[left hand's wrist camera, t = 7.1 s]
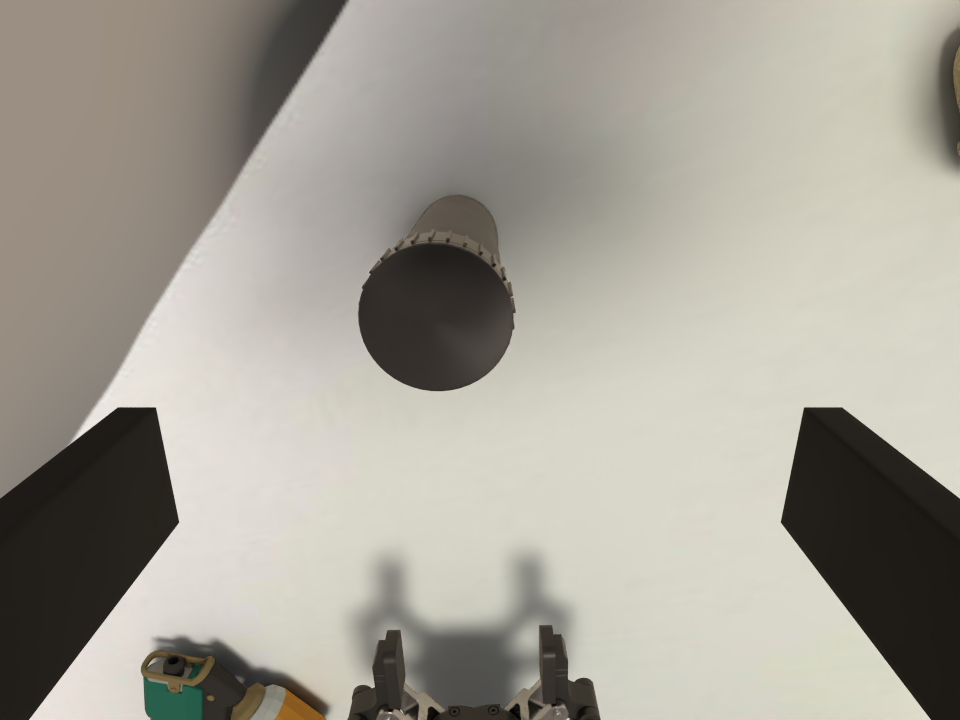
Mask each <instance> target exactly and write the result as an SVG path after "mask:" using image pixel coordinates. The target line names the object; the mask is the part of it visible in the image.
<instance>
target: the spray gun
mask: <svg viewBox="0 0 960 720" xmlns="http://www.w3.org/2000/svg"><path fill="white" fill-rule="evenodd" d="M156 657H163V658H167V659H166V660H165V661H164V662H163V661H159V662H156V663H153V664H151V665H150V666H148V665H149V663H150V662H151V661H152V660H153V659H154V658H156ZM214 662H215V659H214V658H213V657H211V656H208V657H206V658H205V659H202V658H197V657H192V656H187V655H182V654H176V653H171V652H166V651H154V652H152V653H150V654H149V655H148V656H147V658H146V659H145V660H144V662H143V663H142V666H141V673H142V675H143V678H144V700H145V711H146V714H147V715H148V717H150V719H151V720H326V718H325V717H324V716H322V715H321V714H320V713H318V712H317V711H316V710H314V709H313V708H311V707H310V706H309V705H307V704H306V703H305V702H303V701H302V700H300V699H299V698H298V697H296V696H295V695H294V694H292V693H291V692H289V691H288V690H287V689H285V688H283V687H280V686H277V685H274V684H273V685H269V686H266V687H264V686H263V685H261V684H260V683H256V684H254V685H252V686H251V687H249V688H247V689H246V688H245V687H244V686H243V685H242V684H241V683H240V682H239V681H238V680H237V679H235V678H234V677H233V676H232V675H231V674H229V673H228V672H227V671H226V670H225V669H224V668H222V667H221V666H220V665H219V664H218V663H217V662H216V663H214ZM192 663H195V664H196V665H195V666H194V667H193V668H192ZM197 664H200V665H204V666H203V667H202V668H201V666H200V665H197ZM147 666H148V667H147ZM232 706H233V711H232V714H231V707H232Z"/></svg>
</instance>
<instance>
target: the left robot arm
mask: <svg viewBox="0 0 960 720" xmlns="http://www.w3.org/2000/svg"><path fill="white" fill-rule="evenodd" d="M178 523H179V519H178V514H177V509H176V504H175V499H174V495H173V490H172V485H171V480H170V475H169V470H168V465H167V460H166V455H165V450H164V445H163V440H162V435H161V431H160V426H159V421H158V416H157V411H156V408H117V409H115V410H114V411H113V412H112V413H110V414H109V415H108V416H106V417H105V418H104V419H103V420H101V421H100V422H99V423H97V424H96V425H95V426H93V427H92V428H91V429H90V430H88V431H87V432H86V433H84V434H83V435H82V436H81V437H79V438H78V439H77V440H75V441H74V442H73V443H72V444H70V445H69V446H68V447H66V448H65V449H64V450H62V451H61V452H60V453H59V454H57V455H56V456H55V457H53V458H52V459H51V460H50V461H48V462H47V463H46V464H44V465H43V466H42V467H41V468H39V469H38V470H37V471H35V472H34V473H33V474H31V475H30V476H29V477H28V478H26V479H25V480H24V481H22V482H21V483H20V484H19V485H17V486H16V487H15V488H13V489H12V490H11V491H10V492H8V493H7V494H6V495H4V496H3V497H2V498H0V720H29V719H30V718H31V716H32V715H33V714H34V712H35V711H36V710H37V708H38V707H39V706H40V704H41V703H42V702H43V701H44V699H45V698H46V697H47V695H48V694H49V693H50V691H51V690H52V689H53V687H54V686H55V685H56V683H57V682H58V681H59V680H60V678H61V677H62V676H63V674H64V673H65V672H66V670H67V669H68V668H69V666H70V665H71V664H72V662H73V661H74V660H75V659H76V657H77V656H78V655H79V653H80V652H81V651H82V649H83V648H84V647H85V645H86V644H87V643H88V641H89V640H90V639H91V638H92V636H93V635H94V634H95V632H96V631H97V630H98V628H99V627H100V626H101V624H102V623H103V622H104V620H105V619H106V618H107V617H108V615H109V614H110V613H111V611H112V610H113V609H114V607H115V606H116V605H117V603H118V602H119V601H120V599H121V598H122V597H123V595H124V594H125V593H126V592H127V590H128V589H129V588H130V586H131V585H132V584H133V582H134V581H135V580H136V578H137V577H138V576H139V574H140V573H141V572H142V571H143V569H144V568H145V567H146V565H147V564H148V563H149V561H150V560H151V559H152V557H153V556H154V555H155V553H156V552H157V551H158V550H159V548H160V547H161V546H162V544H163V543H164V542H165V540H166V539H167V538H168V536H169V535H170V534H171V532H172V531H173V530H174V529H175V527H176V526H177V525H178ZM781 523H782V525H783V526H784V527H785V529H786V530H787V531H788V532H789V534H790V535H791V536H792V538H793V539H794V540H795V542H796V543H797V544H798V546H799V547H800V548H801V550H802V551H803V552H804V553H805V555H806V556H807V557H808V559H809V560H810V561H811V563H812V564H813V565H814V567H815V568H816V569H817V571H818V572H819V573H820V574H821V576H822V577H823V578H824V580H825V581H826V582H827V584H828V585H829V586H830V588H831V589H832V590H833V592H834V593H835V594H836V595H837V597H838V598H839V599H840V601H841V602H842V603H843V605H844V606H845V607H846V609H847V610H848V611H849V613H850V614H851V615H852V617H853V618H854V619H855V620H856V622H857V623H858V624H859V626H860V627H861V628H862V630H863V631H864V632H865V634H866V635H867V636H868V638H869V639H870V640H871V641H872V643H873V644H874V645H875V647H876V648H877V649H878V651H879V652H880V653H881V655H882V656H883V657H884V659H885V660H886V661H887V662H888V664H889V665H890V666H891V668H892V669H893V670H894V672H895V673H896V674H897V676H898V677H899V678H900V680H901V681H902V682H903V683H904V685H905V686H906V687H907V689H908V690H909V691H910V693H911V694H912V695H913V697H914V698H915V699H916V701H917V702H918V703H919V705H920V706H921V707H922V708H923V710H924V711H925V712H926V714H927V715H928V716H929V718H930V719H931V720H960V498H958V497H957V496H956V495H954V494H953V493H952V492H950V491H949V490H948V489H947V488H945V487H944V486H943V485H941V484H940V483H939V482H938V481H936V480H935V479H934V478H932V477H931V476H930V475H929V474H927V473H926V472H925V471H923V470H922V469H921V468H919V467H918V466H917V465H916V464H914V463H913V462H912V461H910V460H909V459H908V458H907V457H905V456H904V455H903V454H901V453H900V452H899V451H898V450H896V449H895V448H894V447H892V446H891V445H890V444H888V443H887V442H886V441H885V440H883V439H882V438H881V437H879V436H878V435H877V434H876V433H874V432H873V431H872V430H870V429H869V428H868V427H867V426H865V425H864V424H863V423H861V422H860V421H859V420H857V419H856V418H855V417H854V416H852V415H851V414H850V413H848V412H847V411H846V410H845V409H843V408H804V411H803V416H802V421H801V426H800V431H799V435H798V440H797V445H796V450H795V455H794V460H793V465H792V470H791V475H790V480H789V485H788V490H787V495H786V499H785V504H784V509H783V514H782V519H781Z"/></svg>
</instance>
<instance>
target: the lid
mask: <svg viewBox="0 0 960 720" xmlns="http://www.w3.org/2000/svg"><path fill="white" fill-rule="evenodd" d="M468 237H469V236H468V235H465V236H462V235H458V234H455V233H452V231H451V230H449V232H435V229H434V230H432V231H431V232H428V233H423V234H419V232H417V233H415V234H414V236H413V237H410V238H408V239H406V240H403V239H401V240H400V241H399V242H398V244H397V245H396V246H395V247H394V248H392V249H390V248H389V249H388V250H387V251H386V252H385V253H384V255H383V256H382V257H381V258H380V260H381V262H380V261H378V262H377V263H376V264H375V265H374V267H373V268H372V269H371V271H370V272H369V273H370V274H371V275H370V276H369V278H368V280H367V281H366V282H365V283H364V285H363V287H362V289H363V291H362V294H361V298H360V301H359V311H358V317H359V327H360V332H361V335H362V338H363V341H364V344H365V346H366V348H367V350H368V352H369V353H370V355H371V356H372V358H373V359H374V360H375V362H376V363H377V364H378V365H379V366H380V367H381V368H382V369H383V370H384V371H385V372H386V373H387V374H389V375H390V376H392V377H393V378H394V379H396V380H398V381H400V382H402V383H404V384H406V385H409V386H411V387H414V388H418V389H422V390H429V391H447V390H454V389H458V388H462V387H465V386H467V385H470V384H472V383H474V382H476V381H478V380H479V379H481V378H482V377H484V376H485V375H486V374H488V373H489V372H490V371H491V370H492V369H493V368H494V367H495V366H496V365H497V363H498V362H499V361H500V360H501V358H502V356H503V355H504V353H505V351H506V349H507V347H508V345H509V343H510V339H511V336H512V330H514V320H513V318H514V317H513V313H515V305H514V298H511V296H513V292H512V286H511V282H508V281H507V278H506V271H505V268H504V267H501V266H500V264H499V263H498V261H497V260H496V255H495V254H493V255H492V254H491V253H490V252H489V251H488V250H486V249H485V248H484V247H483V243H480V244H478V243H477V242H475V241H473V240H471V239H469V238H468Z"/></svg>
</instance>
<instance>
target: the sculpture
mask: <svg viewBox="0 0 960 720" xmlns="http://www.w3.org/2000/svg"><path fill="white" fill-rule="evenodd" d="M953 78H954V88H955V94H956V99H957V104H958V108H959V111H960V46H959V48H958V50H957V53H956V56H955V60H954V68H953ZM957 151H958V155H959V156H960V140H959V142H958V144H957Z"/></svg>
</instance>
